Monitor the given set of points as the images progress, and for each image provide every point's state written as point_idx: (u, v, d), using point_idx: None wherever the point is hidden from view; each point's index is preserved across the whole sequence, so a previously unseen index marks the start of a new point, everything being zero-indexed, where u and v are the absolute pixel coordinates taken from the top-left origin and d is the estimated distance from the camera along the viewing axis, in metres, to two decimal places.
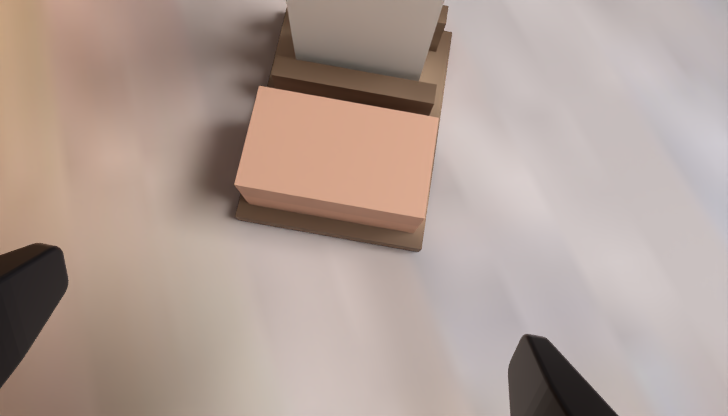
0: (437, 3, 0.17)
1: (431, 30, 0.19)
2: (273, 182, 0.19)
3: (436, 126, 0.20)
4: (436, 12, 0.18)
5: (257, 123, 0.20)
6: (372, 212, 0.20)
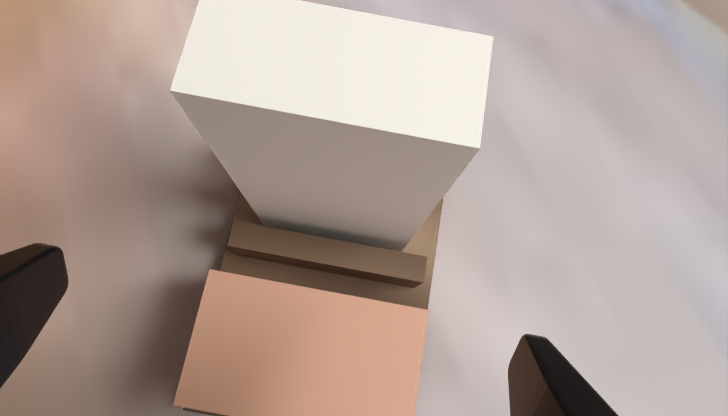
0: (424, 209, 0.13)
1: (418, 223, 0.15)
2: (222, 401, 0.16)
3: (425, 321, 0.17)
4: (424, 214, 0.14)
5: (205, 320, 0.16)
6: None
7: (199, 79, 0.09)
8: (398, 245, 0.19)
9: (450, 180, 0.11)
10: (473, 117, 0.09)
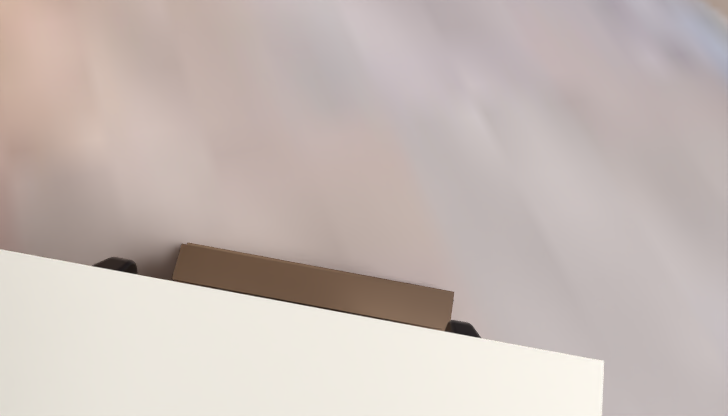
0: None
1: None
2: None
3: None
4: None
5: None
6: None
7: None
8: None
9: None
10: None
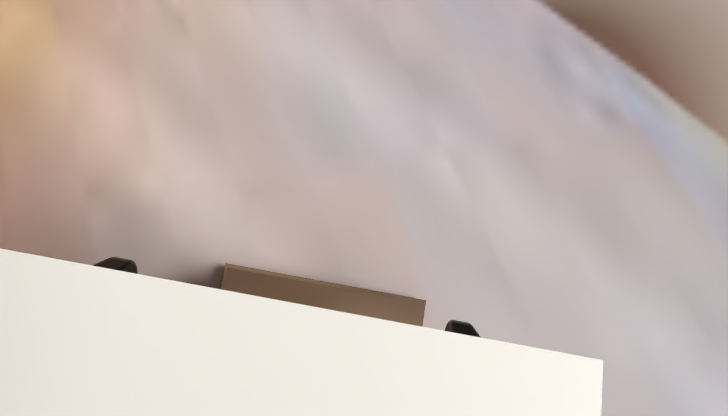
0: None
1: None
2: None
3: None
4: None
5: None
6: None
7: None
8: None
9: None
10: None
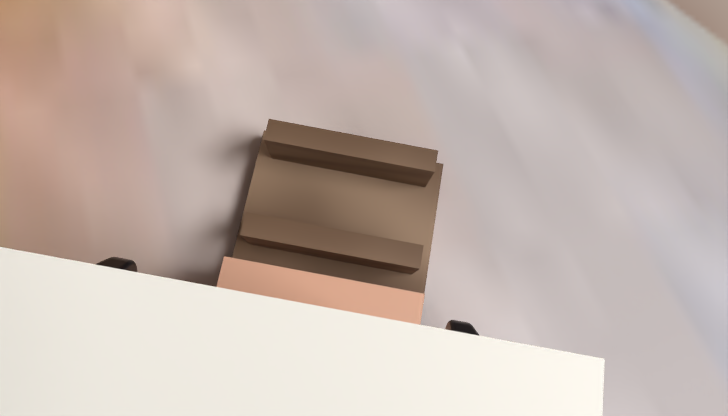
0: None
1: None
2: None
3: (421, 304, 0.18)
4: None
5: None
6: None
7: None
8: None
9: None
10: None
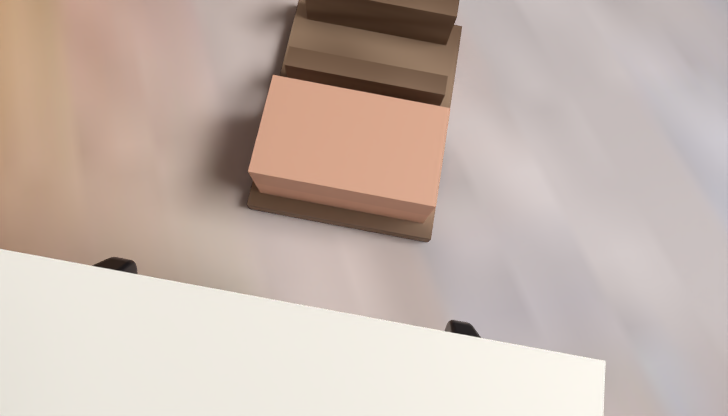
0: None
1: None
2: (286, 169, 0.20)
3: (447, 116, 0.21)
4: None
5: (271, 111, 0.20)
6: (383, 200, 0.20)
7: None
8: None
9: None
10: None
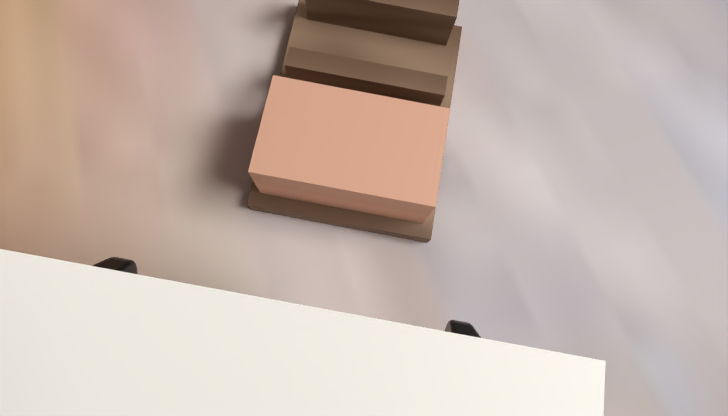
0: None
1: None
2: (286, 169, 0.20)
3: (447, 116, 0.21)
4: None
5: (271, 112, 0.20)
6: (383, 200, 0.20)
7: None
8: None
9: None
10: None
